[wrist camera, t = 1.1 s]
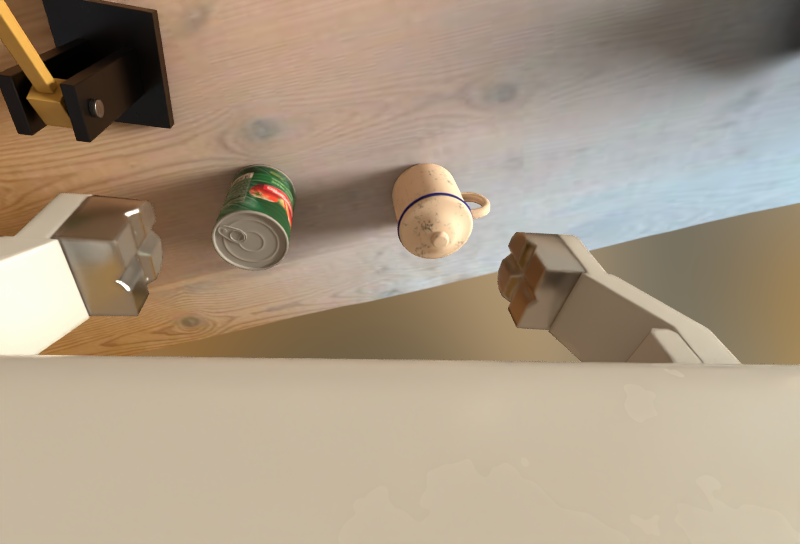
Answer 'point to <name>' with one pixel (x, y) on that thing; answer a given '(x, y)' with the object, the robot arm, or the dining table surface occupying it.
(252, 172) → the canned tomato
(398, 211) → the teacup with lid
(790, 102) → the dining table surface
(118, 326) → the dining table surface
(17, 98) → the lever stand
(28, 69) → the tap lever
